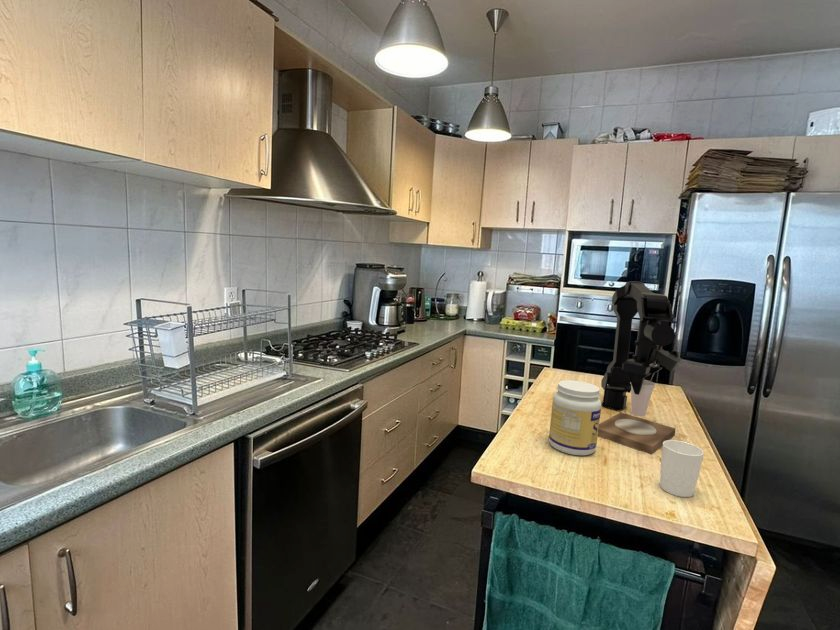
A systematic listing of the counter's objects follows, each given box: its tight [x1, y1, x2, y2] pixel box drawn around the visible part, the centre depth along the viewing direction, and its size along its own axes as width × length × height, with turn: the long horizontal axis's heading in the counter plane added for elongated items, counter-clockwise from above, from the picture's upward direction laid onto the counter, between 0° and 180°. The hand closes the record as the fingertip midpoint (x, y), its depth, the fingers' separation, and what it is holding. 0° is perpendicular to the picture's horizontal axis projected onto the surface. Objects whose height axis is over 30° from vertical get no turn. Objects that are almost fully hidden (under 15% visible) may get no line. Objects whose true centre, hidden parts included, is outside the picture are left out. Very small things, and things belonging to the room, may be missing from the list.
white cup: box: [659, 439, 705, 498], centre depth 101 cm, size 8×8×10 cm
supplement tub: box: [548, 379, 602, 456], centre depth 119 cm, size 12×12×17 cm
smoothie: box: [630, 380, 656, 417], centre depth 130 cm, size 6×6×14 cm
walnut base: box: [598, 411, 677, 455], centre depth 131 cm, size 16×20×3 cm
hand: (640, 392), depth 130 cm, fingers closed on smoothie, 6 cm apart
